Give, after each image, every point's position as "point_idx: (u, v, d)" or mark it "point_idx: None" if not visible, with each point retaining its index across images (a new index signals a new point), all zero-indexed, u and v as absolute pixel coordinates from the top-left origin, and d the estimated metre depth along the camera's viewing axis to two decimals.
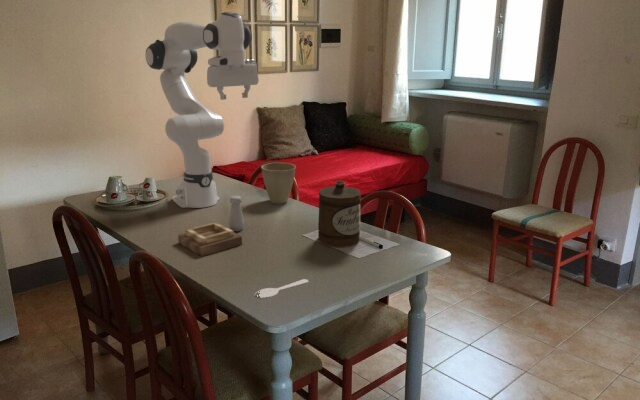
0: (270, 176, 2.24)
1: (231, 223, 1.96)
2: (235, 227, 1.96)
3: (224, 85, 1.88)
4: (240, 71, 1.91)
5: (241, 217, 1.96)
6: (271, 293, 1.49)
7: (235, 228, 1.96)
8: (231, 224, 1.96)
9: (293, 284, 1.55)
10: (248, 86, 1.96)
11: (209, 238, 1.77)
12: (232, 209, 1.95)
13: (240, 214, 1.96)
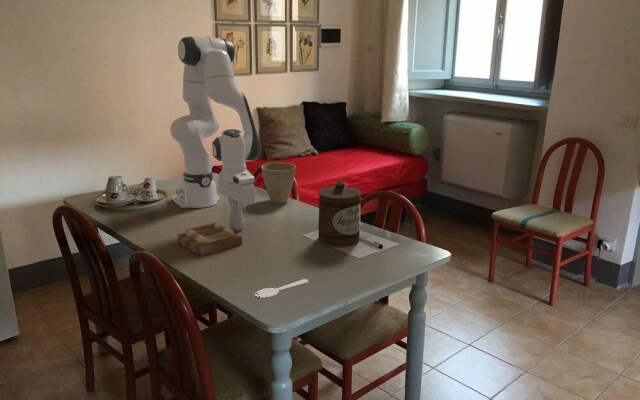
0: (270, 176, 2.24)
1: (231, 223, 1.96)
2: (235, 227, 1.96)
3: None
4: None
5: (241, 217, 1.96)
6: (271, 293, 1.49)
7: (235, 228, 1.96)
8: (231, 224, 1.96)
9: (293, 284, 1.55)
10: None
11: (209, 238, 1.77)
12: (232, 209, 1.95)
13: (240, 214, 1.96)
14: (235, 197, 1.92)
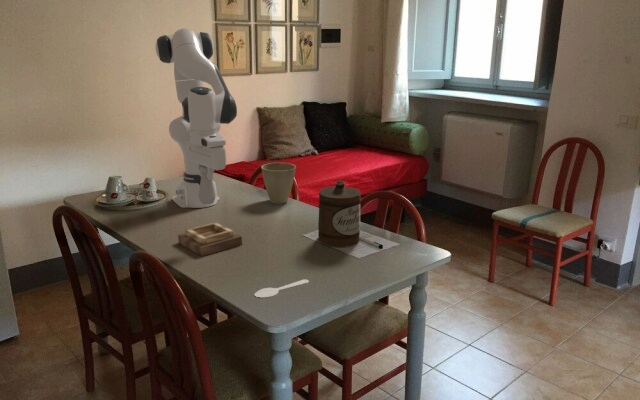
0: (270, 176, 2.24)
1: (201, 195, 1.78)
2: (205, 199, 1.78)
3: None
4: None
5: (212, 189, 1.78)
6: (271, 293, 1.49)
7: (205, 201, 1.78)
8: (201, 196, 1.78)
9: (293, 284, 1.55)
10: None
11: (209, 238, 1.77)
12: (202, 179, 1.77)
13: (211, 185, 1.78)
14: (204, 162, 1.73)
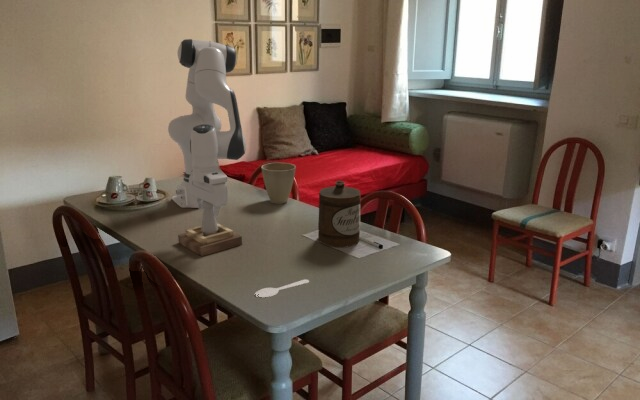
0: (270, 176, 2.24)
1: (203, 229, 1.81)
2: (208, 233, 1.81)
3: None
4: None
5: (214, 222, 1.82)
6: (271, 293, 1.49)
7: (208, 234, 1.82)
8: (203, 230, 1.81)
9: (293, 284, 1.55)
10: None
11: (209, 238, 1.77)
12: (204, 214, 1.81)
13: (213, 219, 1.81)
14: (207, 198, 1.77)
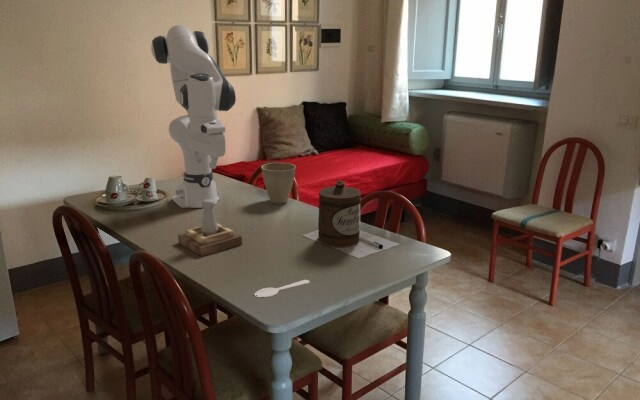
0: (270, 176, 2.24)
1: (203, 229, 1.81)
2: (208, 233, 1.81)
3: None
4: None
5: (214, 222, 1.82)
6: (271, 293, 1.49)
7: (208, 234, 1.82)
8: (203, 230, 1.81)
9: (293, 284, 1.55)
10: None
11: (209, 238, 1.77)
12: (204, 214, 1.81)
13: (213, 219, 1.81)
14: (204, 149, 1.72)
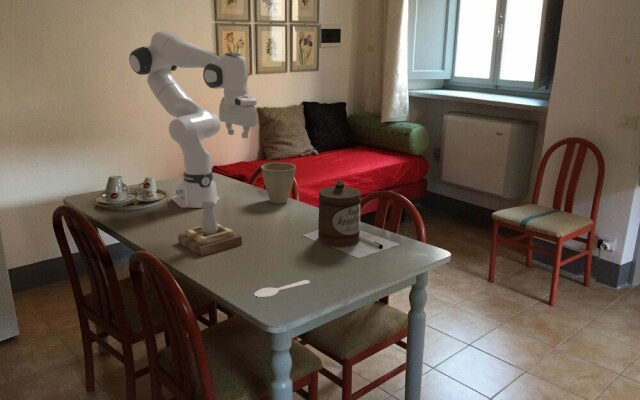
0: (270, 176, 2.24)
1: (203, 229, 1.81)
2: (208, 233, 1.81)
3: None
4: None
5: (214, 222, 1.82)
6: (271, 293, 1.49)
7: (208, 234, 1.82)
8: (203, 230, 1.81)
9: (294, 284, 1.54)
10: None
11: (209, 238, 1.77)
12: (204, 214, 1.81)
13: (213, 219, 1.81)
14: (237, 121, 1.92)
